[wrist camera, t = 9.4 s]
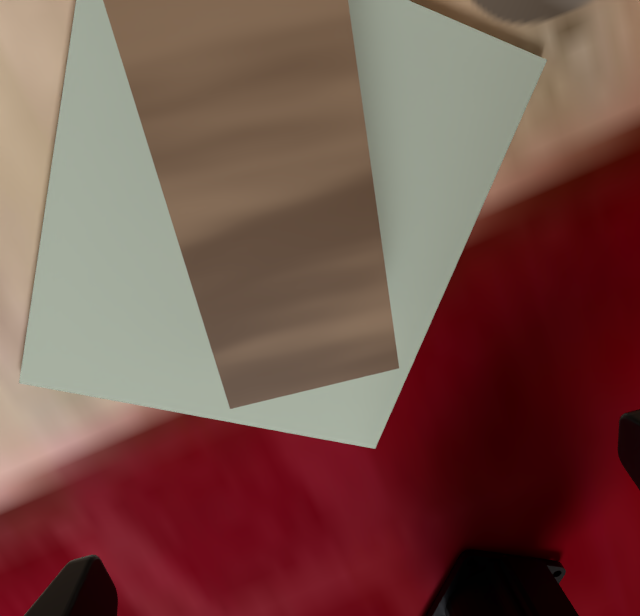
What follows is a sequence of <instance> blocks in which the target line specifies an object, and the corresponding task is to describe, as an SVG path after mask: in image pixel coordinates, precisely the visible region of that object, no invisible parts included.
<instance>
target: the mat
mask: <svg viewBox="0 0 640 616" xmlns="http://www.w3.org/2000/svg"><path fill="white" fill-rule="evenodd" d="M348 4H349V11H350V18H351V26H352V33H353V40H354V47H355V54H356V62H357V69H358V76H359V83H360V90H361V97H362V105H363V112H364V119H365V126H366V133H367V140H368V148H369V155H370V162H371V169H372V176H373V184H374V191H375V198H376V205H377V212H378V219H379V227H380V234H381V241H382V248H383V255H384V262H385V270H386V277H387V284H388V291H389V298H390V306H391V313H392V320H393V327H394V334H395V341H396V349H397V356H398V363H399V369H394V370H390V371H386V372H382V373H378V374H374V375H369V376H365V377H361V378H357V379H353V380H349V381H345V382H340V383H336V384H332V385H328V386H324V387H320V388H316V389H311V390H307V391H303V392H299V393H295V394H291V395H287V396H282V397H278V398H274V399H270V400H266V401H262V402H257V403H253V404H249V405H245V406H241V407H237V408H233V409H230V407H229V404H228V401H227V397H226V394H225V391H224V388H223V385H222V381H221V378H220V375H219V372H218V368H217V365H216V362H215V359H214V356H213V352H212V349H211V346H210V343H209V340H208V336H207V333H206V330H205V327H204V323H203V320H202V317H201V314H200V311H199V307H198V304H197V301H196V298H195V295H194V291H193V288H192V285H191V282H190V278H189V275H188V272H187V269H186V266H185V262H184V259H183V256H182V253H181V249H180V246H179V243H178V240H177V237H176V233H175V230H174V227H173V224H172V221H171V217H170V214H169V211H168V208H167V204H166V201H165V198H164V195H163V192H162V188H161V185H160V182H159V179H158V176H157V172H156V169H155V166H154V163H153V159H152V156H151V153H150V150H149V147H148V143H147V140H146V137H145V134H144V131H143V127H142V124H141V121H140V118H139V114H138V111H137V108H136V105H135V102H134V98H133V95H132V92H131V89H130V85H129V82H128V79H127V76H126V73H125V69H124V66H123V63H122V60H121V57H120V53H119V50H118V47H117V44H116V40H115V37H114V34H113V31H112V28H111V24H110V21H109V18H108V15H107V12H106V8H105V5H104V2H103V0H76V5H75V12H74V19H73V25H72V32H71V39H70V45H69V52H68V59H67V66H66V72H65V79H64V86H63V92H62V99H61V106H60V112H59V119H58V126H57V133H56V139H55V146H54V153H53V159H52V166H51V173H50V179H49V186H48V193H47V200H46V206H45V213H44V220H43V226H42V233H41V240H40V246H39V253H38V260H37V267H36V273H35V280H34V287H33V293H32V300H31V307H30V313H29V320H28V327H27V334H26V340H25V347H24V354H23V360H22V367H21V374H20V380H19V383H21V384H26V385H32V386H37V387H43V388H48V389H54V390H59V391H64V392H70V393H75V394H81V395H86V396H92V397H97V398H102V399H108V400H113V401H119V402H124V403H129V404H135V405H140V406H146V407H151V408H157V409H162V410H167V411H173V412H178V413H184V414H189V415H195V416H200V417H205V418H211V419H216V420H222V421H227V422H233V423H238V424H243V425H249V426H254V427H260V428H265V429H270V430H276V431H281V432H287V433H292V434H298V435H303V436H308V437H314V438H319V439H325V440H330V441H336V442H341V443H346V444H352V445H357V446H363V447H368V448H374V449H375V448H376V445H377V443H378V441H379V439H380V436H381V434H382V432H383V430H384V427H385V425H386V423H387V421H388V418H389V416H390V414H391V412H392V409H393V407H394V405H395V402H396V400H397V398H398V396H399V393H400V391H401V389H402V387H403V384H404V382H405V380H406V378H407V375H408V373H409V371H410V369H411V366H412V364H413V362H414V360H415V357H416V355H417V353H418V351H419V348H420V346H421V344H422V341H423V339H424V337H425V335H426V332H427V330H428V328H429V326H430V323H431V321H432V319H433V317H434V314H435V312H436V310H437V308H438V305H439V303H440V301H441V299H442V296H443V294H444V292H445V290H446V287H447V285H448V283H449V280H450V278H451V276H452V274H453V271H454V269H455V267H456V265H457V262H458V260H459V258H460V256H461V253H462V251H463V249H464V247H465V244H466V242H467V240H468V238H469V235H470V233H471V231H472V229H473V226H474V224H475V222H476V219H477V217H478V215H479V213H480V210H481V208H482V206H483V204H484V201H485V199H486V197H487V195H488V192H489V190H490V188H491V186H492V183H493V181H494V179H495V177H496V174H497V172H498V170H499V167H500V165H501V163H502V161H503V158H504V156H505V154H506V152H507V149H508V147H509V145H510V143H511V140H512V138H513V136H514V134H515V131H516V129H517V127H518V125H519V122H520V120H521V118H522V116H523V113H524V111H525V109H526V106H527V104H528V102H529V100H530V97H531V95H532V93H533V91H534V88H535V86H536V84H537V82H538V79H539V77H540V75H541V73H542V70H543V68H544V66H545V64H546V61H547V60H546V59H544V58H541V57H539V56H537V55H535V54H532V53H530V52H528V51H525V50H523V49H521V48H518V47H516V46H514V45H511V44H509V43H507V42H504V41H502V40H500V39H497V38H495V37H493V36H490V35H488V34H486V33H483V32H481V31H479V30H476V29H474V28H472V27H469V26H467V25H465V24H463V23H460V22H458V21H456V20H453V19H451V18H449V17H446V16H444V15H442V14H439V13H437V12H435V11H432V10H430V9H428V8H425V7H423V6H421V5H418V4H416V3H414V2H411V1H409V0H348Z"/></svg>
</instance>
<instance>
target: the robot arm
mask: <svg viewBox="0 0 640 616" xmlns="http://www.w3.org/2000/svg"><path fill="white" fill-rule="evenodd" d="M618 455H619V458H620V461H621V463H622V465H623V466H624V468H625V469H626V471H627V472H628V474H629V475H630V477H631V478H632V480H633V481H634V482H635V484H636V485H637V487H638V488H639V490H640V409H639V410H635V411H631V412H627V413H624V414H623V415H622V416H621V417H620V420H619V436H618ZM565 573H566V571H565V569H564V567H563V566H562V564H561V563H560V562H558V561H551V560H544V559H537V558H530V557H522V556H515V555H508V554H501V553H493V552H486V551H479V550H466V551H464V552H463V553H462V554H461V555H460V557H459V558H458V560H457V562H456V564H455V566H454V567H453V569H452V571H451V573H450V574H449V576H448V578H447V580H446V582H445V583H444V585H443V587H442V589H441V591H440V592H439V594H438V596H437V598H436V600H435V601H434V603H433V605H432V607H431V608H430V610H429V612H428V614H427V616H579V615H578V614H577V612H576V611H575V609H574V607H573V606H572V604H571V603H570V601H569V600H568V598H567V596H566V595H565V593H564V592H563V590H562V589H561V587H560V585H559V582H560V581H561V579H562V578H563V576H564V575H565ZM117 606H118V597H117V591H116V588H115V585H114V583H113V582H112V580H111V578H110V576H109V574H108V572H107V570H106V569H105V567H104V565H103V563H102V561H101V560H100V558H99V557H98V556H96V555H89V556H85V557H82V558H78V559H74V560H72V561H70V562H69V563H68V564H67V565H66V566H65V567H64V568H63V569H62V570H61V572H60V573H59V574H58V575H57V576H56V578H55V579H54V580H53V581H52V583H51V584H50V585H49V586H48V587H47V589H46V590H45V591H44V592H43V593H42V595H41V596H40V597H39V598H38V599H37V601H36V602H35V603H34V604H33V605H32V607H31V608H30V609H29V610H28V611H27V613H26V614H25V615H24V616H117Z"/></svg>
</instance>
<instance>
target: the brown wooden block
mask: <svg viewBox="0 0 640 616" xmlns="http://www.w3.org/2000/svg"><path fill="white" fill-rule="evenodd" d="M103 2H104V5H105V8H106V12H107V15H108V18H109V21H110V24H111V28H112V31H113V34H114V37H115V40H116V44H117V47H118V50H119V53H120V57H121V60H122V63H123V66H124V69H125V73H126V76H127V79H128V82H129V85H130V89H131V92H132V95H133V98H134V102H135V105H136V108H137V111H138V114H139V118H140V121H141V124H142V127H143V131H144V134H145V137H146V140H147V143H148V147H149V150H150V153H151V156H152V159H153V163H154V166H155V169H156V172H157V176H158V179H159V182H160V185H161V188H162V192H163V195H164V198H165V201H166V204H167V208H168V211H169V214H170V217H171V221H172V224H173V227H174V230H175V233H176V237H177V240H178V243H179V246H180V249H181V253H182V256H183V259H184V262H185V266H186V269H187V272H188V275H189V278H190V282H191V285H192V288H193V291H194V295H195V298H196V301H197V304H198V307H199V311H200V314H201V317H202V320H203V323H204V327H205V330H206V333H207V336H208V340H209V343H210V346H211V349H212V352H213V356H214V359H215V362H216V365H217V368H218V372H219V375H220V378H221V381H222V385H223V388H224V391H225V394H226V397H227V401H228V404H229V407H230V409H233V408H237V407H241V406H245V405H249V404H253V403H257V402H262V401H266V400H270V399H274V398H278V397H282V396H287V395H291V394H295V393H299V392H303V391H307V390H311V389H316V388H320V387H324V386H328V385H332V384H336V383H340V382H345V381H349V380H353V379H357V378H361V377H365V376H369V375H374V374H378V373H382V372H386V371H390V370H394V369H399V363H398V356H397V349H396V341H395V334H394V327H393V320H392V313H391V306H390V298H389V291H388V284H387V277H386V270H385V262H384V255H383V248H382V241H381V234H380V227H379V219H378V212H377V205H376V198H375V191H374V184H373V176H372V169H371V162H370V155H369V148H368V140H367V133H366V126H365V119H364V112H363V105H362V97H361V90H360V83H359V76H358V69H357V62H356V54H355V47H354V40H353V33H352V26H351V18H350V11H349V4H348V0H103Z"/></svg>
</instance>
